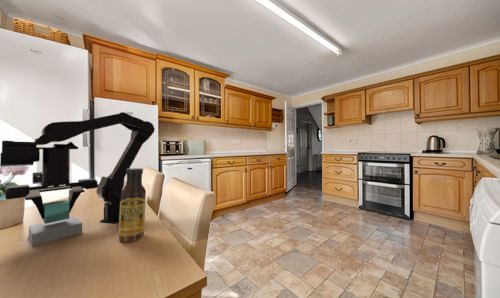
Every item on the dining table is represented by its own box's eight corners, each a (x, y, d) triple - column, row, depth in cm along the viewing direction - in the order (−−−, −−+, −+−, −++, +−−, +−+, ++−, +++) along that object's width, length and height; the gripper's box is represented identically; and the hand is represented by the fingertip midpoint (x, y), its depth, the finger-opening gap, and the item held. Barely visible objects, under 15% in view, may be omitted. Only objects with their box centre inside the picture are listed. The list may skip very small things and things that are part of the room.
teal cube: (69, 218, 57) (69, 202, 57) (45, 223, 53) (45, 206, 53) (65, 215, 60) (65, 199, 60) (42, 220, 56) (42, 203, 56)
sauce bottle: (116, 245, 49) (116, 170, 49) (120, 236, 55) (120, 168, 55) (145, 239, 52) (145, 168, 52) (146, 231, 58) (146, 167, 58)
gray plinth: (82, 232, 57) (82, 222, 57) (32, 246, 49) (32, 234, 49) (74, 225, 63) (74, 216, 63) (28, 236, 55) (28, 225, 55)
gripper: (88, 162, 69) (88, 204, 68) (5, 165, 54) (4, 219, 54) (98, 162, 62) (98, 209, 62) (5, 166, 47) (5, 228, 47)
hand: (56, 216), depth 56 cm, fingers closed on teal cube, 5 cm apart
